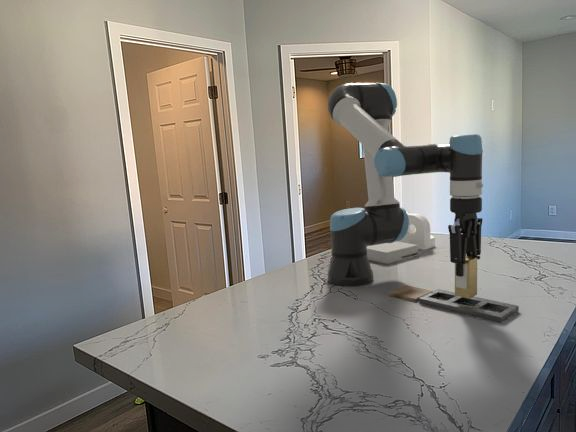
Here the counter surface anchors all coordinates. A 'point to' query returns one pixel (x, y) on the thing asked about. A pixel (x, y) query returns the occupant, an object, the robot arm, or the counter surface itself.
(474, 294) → the square wooden peg
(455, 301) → the grey flat slotted block
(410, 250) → the disc drive
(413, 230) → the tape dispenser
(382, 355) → the counter surface
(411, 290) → the walnut pad
